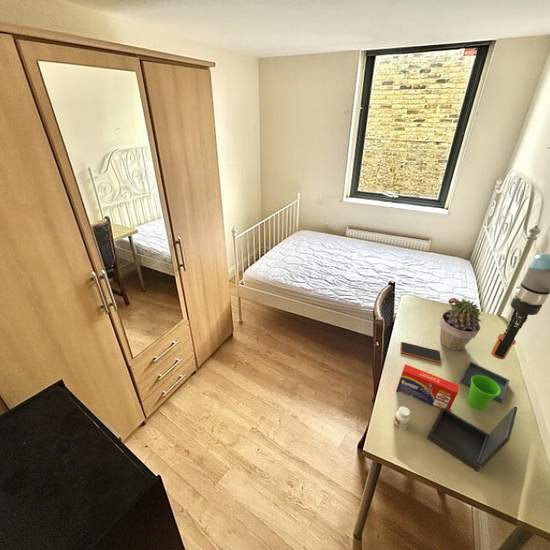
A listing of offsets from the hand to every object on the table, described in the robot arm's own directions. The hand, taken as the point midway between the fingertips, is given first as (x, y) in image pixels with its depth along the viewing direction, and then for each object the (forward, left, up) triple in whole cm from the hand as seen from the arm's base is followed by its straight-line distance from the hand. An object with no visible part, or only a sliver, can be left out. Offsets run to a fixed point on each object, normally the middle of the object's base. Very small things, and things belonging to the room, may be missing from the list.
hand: (500, 351), depth 107 cm
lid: (-7, +31, -7) cm, 33 cm away
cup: (0, +11, -19) cm, 22 cm away
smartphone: (+25, -2, -19) cm, 31 cm away
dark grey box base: (+1, +31, -19) cm, 37 cm away
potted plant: (+16, -20, -19) cm, 32 cm away
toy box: (+15, +23, -19) cm, 33 cm away
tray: (0, -3, -19) cm, 19 cm away
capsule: (0, 0, -2) cm, 2 cm away
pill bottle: (+17, +39, -19) cm, 47 cm away
